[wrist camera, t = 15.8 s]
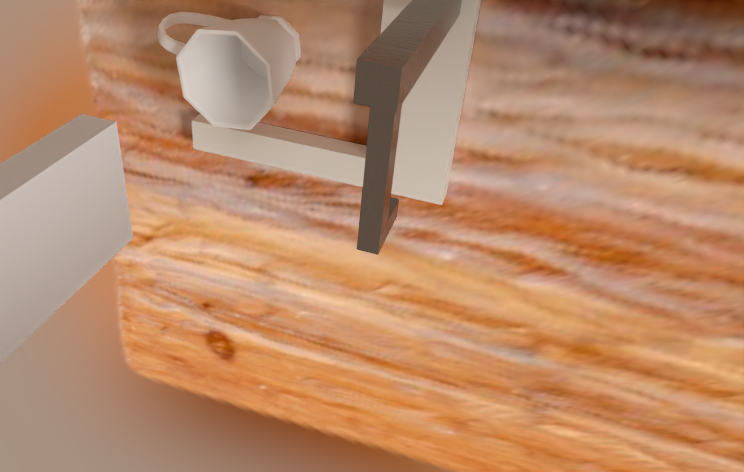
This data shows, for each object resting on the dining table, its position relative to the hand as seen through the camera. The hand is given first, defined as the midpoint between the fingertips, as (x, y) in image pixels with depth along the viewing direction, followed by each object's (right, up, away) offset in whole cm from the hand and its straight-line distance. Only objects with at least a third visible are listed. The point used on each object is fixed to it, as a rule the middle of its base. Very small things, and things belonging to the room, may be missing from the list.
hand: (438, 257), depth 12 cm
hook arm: (+3, +12, +32) cm, 34 cm away
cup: (-10, +15, +37) cm, 41 cm away
